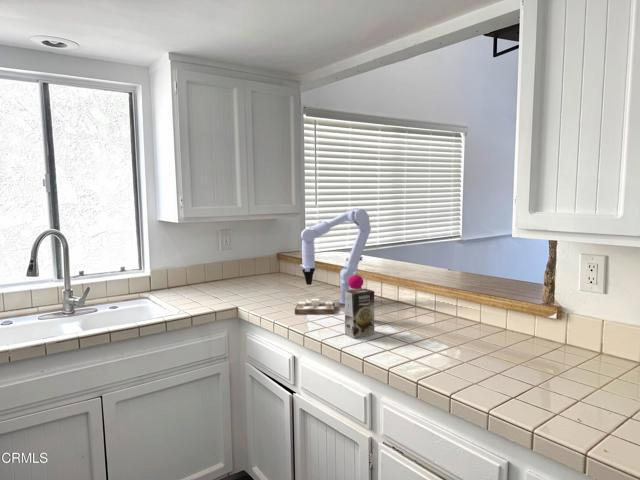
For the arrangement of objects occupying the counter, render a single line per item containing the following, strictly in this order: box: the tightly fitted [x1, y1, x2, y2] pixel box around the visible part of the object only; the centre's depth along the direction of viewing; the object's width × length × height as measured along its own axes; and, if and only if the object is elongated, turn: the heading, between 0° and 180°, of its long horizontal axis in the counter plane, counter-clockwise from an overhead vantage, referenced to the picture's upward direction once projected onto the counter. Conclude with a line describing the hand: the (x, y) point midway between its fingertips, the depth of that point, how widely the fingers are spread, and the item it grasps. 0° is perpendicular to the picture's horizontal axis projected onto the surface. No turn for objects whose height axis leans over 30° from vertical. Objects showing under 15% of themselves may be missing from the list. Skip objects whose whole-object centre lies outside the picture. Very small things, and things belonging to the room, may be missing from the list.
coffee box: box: [344, 288, 375, 339], centre depth 161 cm, size 9×6×16 cm
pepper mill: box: [348, 271, 364, 290], centre depth 178 cm, size 7×7×20 cm
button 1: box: [297, 301, 307, 306], centre depth 197 cm, size 3×3×3 cm
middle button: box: [311, 298, 320, 306], centre depth 196 cm, size 3×3×3 cm
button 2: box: [324, 301, 334, 306], centre depth 196 cm, size 3×3×3 cm
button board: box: [294, 302, 336, 315], centre depth 195 cm, size 17×12×2 cm
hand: (309, 284), depth 205 cm, fingers closed
